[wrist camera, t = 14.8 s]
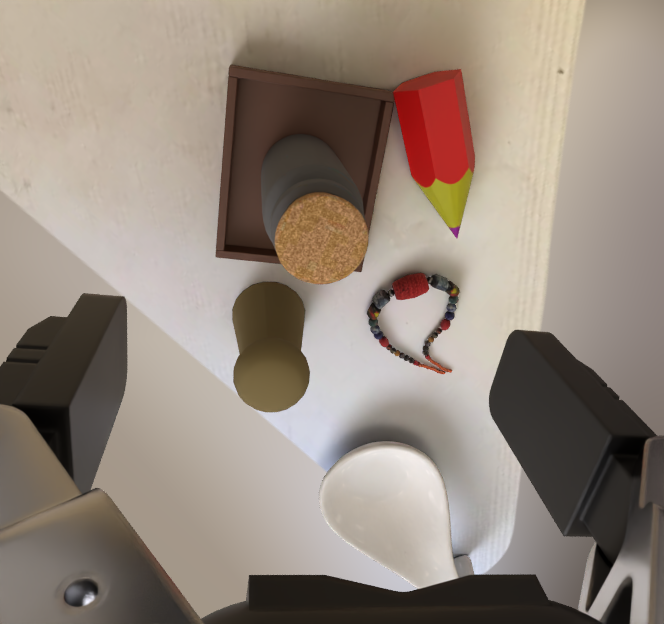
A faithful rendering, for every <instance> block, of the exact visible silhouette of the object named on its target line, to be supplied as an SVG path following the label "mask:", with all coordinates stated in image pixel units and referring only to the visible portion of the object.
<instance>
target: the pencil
mask: <svg viewBox="0 0 664 624" xmlns="http://www.w3.org/2000/svg"><path fill="white" fill-rule="evenodd" d="M393 94H394V99H395V103H396V108H397V112H398V117H399V121H400V126H401V130H402V135H403V139H404V144H405V148H406V153H407V157H408V162H409V166H410V171H411V175H412V177H413V179H414V180H415V181H416V183H417V184H418V185H419V187H420V188H421V190H422V191H423V192H424V194H425V195H426V197H427V198H428V199H429V201H430V202H431V203H432V205H433V206H434V208H435V209H436V210H437V212H438V213H439V215H440V216H441V217H442V219H443V220H444V221H445V223H446V224H447V226H448V227H449V228H450V230H451V231H452V233H453V234H454V235H455V237H456V238H457V237H458V233H459V229H460V225H461V221H462V217H463V213H464V209H465V205H466V201H467V197H468V193H469V189H470V185H471V181H472V177H473V173H474V167H475V154H474V147H473V141H472V135H471V128H470V122H469V116H468V110H467V103H466V97H465V91H464V85H463V78H462V72H461V69H457V70H447V71H437V72H433V73H430V74H427V75H424V76H421V77H418V78H415V79H412V80H409V81H406V82H403V83H401V84H400V85H399V86H398V87H397V88H396V89H395V90H394V91H393Z"/></svg>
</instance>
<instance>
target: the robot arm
mask: <svg viewBox="0 0 664 624" xmlns="http://www.w3.org/2000/svg"><path fill="white" fill-rule="evenodd" d="M126 379H127V305H126V299H125V297H123V296H111V295H99V294H86V293H84V294H82V295H81V297H80V298H79V300H78V301H77V303H76V305H75V306H74V308H73V309H72V311H71V312H70V314H69V315H68V317H55V316H50V317H48V318H46V319H45V320H43V321H41V322H40V323H38V324H36V325H34V326H32V327H31V328H29V329H28V330H27V332H26V333H25V334H24V335H23V337H22V338H21V340H20V341H19V342H18V343H17V345H16V348H14V349H13V350H12V352H11V353H10V354H9V356H8V357H7V360H6V362H3V364H2V365H1V366H0V624H664V436H657V435H656V434H655V433H654V432H653V431H652V430H651V429H650V428H649V427H648V426H647V425H646V424H645V423H644V422H643V421H642V420H641V419H640V418H639V417H638V416H637V415H636V414H635V412H634V411H633V410H631V408H630V407H629V406H628V405H627V404H626V403H625V402H624V401H623V400H619V396H618V395H617V394H616V393H615V392H614V391H613V390H612V389H611V388H609V387H607V384H606V383H605V382H604V381H603V380H602V379H601V378H600V377H599V376H598V375H597V374H596V373H595V372H594V370H592V369H591V368H589V367H588V366H586V365H584V364H583V363H582V362H580V361H578V360H577V359H576V358H575V357H574V356H573V355H572V354H571V353H570V352H569V351H568V350H567V349H566V348H565V347H564V346H563V345H562V344H561V343H560V342H559V340H557V338H556V337H555V336H554V335H553V334H551V333H549V332H538V331H526V330H515V331H513V332H512V333H511V334H510V335H509V337H508V339H507V342H506V345H505V348H504V351H503V354H502V357H501V360H500V363H499V366H498V368H497V371H496V374H495V377H494V380H493V383H492V386H491V390H490V395H489V407H490V412H491V415H492V418H493V420H494V421H495V423H496V425H497V426H498V428H499V430H500V431H501V433H502V435H503V436H504V438H505V440H506V441H507V443H508V445H509V446H510V448H511V450H512V451H513V453H514V455H515V456H516V458H517V460H518V461H519V463H520V464H521V466H522V468H523V469H524V471H525V473H526V474H527V476H528V478H529V479H530V481H531V483H532V484H533V486H534V487H535V489H536V491H537V493H538V494H539V496H540V498H541V499H542V501H543V503H544V504H545V506H546V508H547V509H548V511H549V512H550V514H551V516H552V518H553V519H554V521H555V523H556V524H557V526H558V527H559V529H560V531H561V532H562V534H563V536H586V537H587V536H588V537H593V538H594V539H595V543H594V545H593V547H592V549H591V551H590V553H589V555H588V560H587V565H586V570H585V575H584V581H583V587H582V591H581V597H580V602H579V607H578V610H576V609H574V608H572V607H569V606H566V605H563V604H560V603H557V602H554V601H550V600H548V598H547V596H546V594H545V592H544V590H543V588H542V587H541V585H540V583H539V581H538V579H537V577H536V575H467V576H464V577H460V578H456V579H453V580H449V581H446V582H442V583H438V584H435V585H431V586H428V587H424V588H420V589H417V590H413V591H409V592H398V591H393V590H388V589H383V588H379V587H375V586H371V585H366V584H362V583H357V582H353V581H349V580H344V579H340V578H336V577H331V576H327V575H249V581H248V590H247V597H246V601H244V602H240V603H237V604H233V605H230V606H228V607H225V608H223V609H220V610H217V611H215V612H213V613H211V614H209V615H207V616H205V617H204V618H202V619H200V617H199V616H198V615H197V613H196V612H195V611H194V609H193V608H192V607H191V605H190V604H189V603H188V601H187V600H186V599H185V597H184V596H183V595H182V593H181V592H180V590H179V589H178V588H177V586H176V585H175V584H174V583H173V581H172V580H171V578H170V577H169V576H168V575H167V573H166V572H165V570H164V569H163V568H162V567H161V565H160V564H159V562H158V561H157V560H156V558H155V557H154V556H153V554H152V553H151V552H150V550H149V549H148V548H147V546H146V545H145V544H144V542H143V541H142V539H141V538H140V537H139V536H138V534H137V533H136V532H135V530H134V529H133V527H132V526H131V525H130V523H129V522H128V521H127V519H126V518H125V517H124V515H123V514H122V513H121V511H120V510H119V509H118V507H117V506H116V505H115V503H114V502H113V501H112V499H111V498H110V497H109V496H108V494H107V493H105V492H104V491H103V490H102V489H100V488H95V489H92V490H91V487H92V484H93V481H94V478H95V475H96V472H97V470H98V467H99V464H100V461H101V458H102V456H103V453H104V450H105V447H106V444H107V441H108V439H109V436H110V433H111V430H112V427H113V424H114V422H115V419H116V416H117V413H118V410H119V408H120V405H121V402H122V399H123V396H124V391H125V386H126Z"/></svg>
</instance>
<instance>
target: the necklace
mask: <svg viewBox="0 0 664 624" xmlns="http://www.w3.org/2000/svg"><path fill="white" fill-rule="evenodd" d="M428 284H431V286H432V287H434V288H437V289H439V290H442V291H445V292H447V293H448V294H449V295H450V297H449V302H450V303H449V304H448V305H447V310H448V312H446V314H445V318H446V319H444V320H442V322H441V324H440V328H437V329H436V332H434V333H433V334H432V336H431V337H429V338H428V341H426V342H425V346H424V347H423V350H424V351H423V354H424V355H425V357H426V359H428V361H430V362H431V363H433V364H435V365H436V366H438V367H439V368H440V369H441V370H444V371H446V372H452V370H451V369H446V368H444V367H442V366H441V365H439V363H437V362H435V361H433V360H432V359H431V357H430V356H429V355H428V354H429V352H428V349H429V348H428V347H429V346H430V344H431V343H430V342H433V341H434V338H437V337H438V334H440V333H441V332H442V330H447V329H448V328H449V327H450V320H452V319H453V318H454V316H455V315H454V313H453V312H454V311H455V310H456V305H455V304H456V303H457V302H458V300H459V299H458V294H459V288H458V287H457V286H456V285H455V284H453V283H452V282H451V281H448V280H447V278H444V277H442V276H439V275H437V274H435V275H432V276H431V277H428V278H427V279H426V276H425V274H423V273H416V274H411V275H407V276H404V277H402V278H400V279H398V280H396V281H394V282H393V283H392V287H393V290H392V289H390V290H389V291H388V293H387V292H386V291H385V290H380V291H379V292H378V293H377V294H376V295H375V296H374V297H373V299H372V301H373V303H371V305H370V307H369V309H368V311H367V315H368V317H369V318H370V319H369V321H368V322H369V325H371V326H372V327H371V332H372V333H373V334H374V337H375V338H376V339H379V342H380V344H381V345H382V346H383V347H386V348H387V350H390V352H391V353H394V354H395V356H399V357H400V358H404V360H405V361H409V363H413V364H414V365H416V366H419V367H424V368H426V369H430V370H434V371H435V372H437V373H440V374H445V372H444V371H440V370H438V369H436V368H433V367H432V366H431V367H430V366H427V365H424V364H420V362H417V361H416V360H414V359H413V358H409V356H408V355H405V354H404V353H400V352H399V351H398V350H396V349H395V348H392V345H390V344H389V342H388V339H387V338H386V337H385V336H383V332H382V331H380V328H379V326H378V325H377V324H378V320H377V317H378V315H379V313H380V311H381V308H382V307H384V306H385V305H386V304H387V303H388V302H389V301H390V296H391V297H392V296H394V294H395V296H396V299H398V300H404V299H410V298H415V297H418V296H420V295H422V294H424V293H426V292H427V291H428V290H429V285H428Z"/></svg>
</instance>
